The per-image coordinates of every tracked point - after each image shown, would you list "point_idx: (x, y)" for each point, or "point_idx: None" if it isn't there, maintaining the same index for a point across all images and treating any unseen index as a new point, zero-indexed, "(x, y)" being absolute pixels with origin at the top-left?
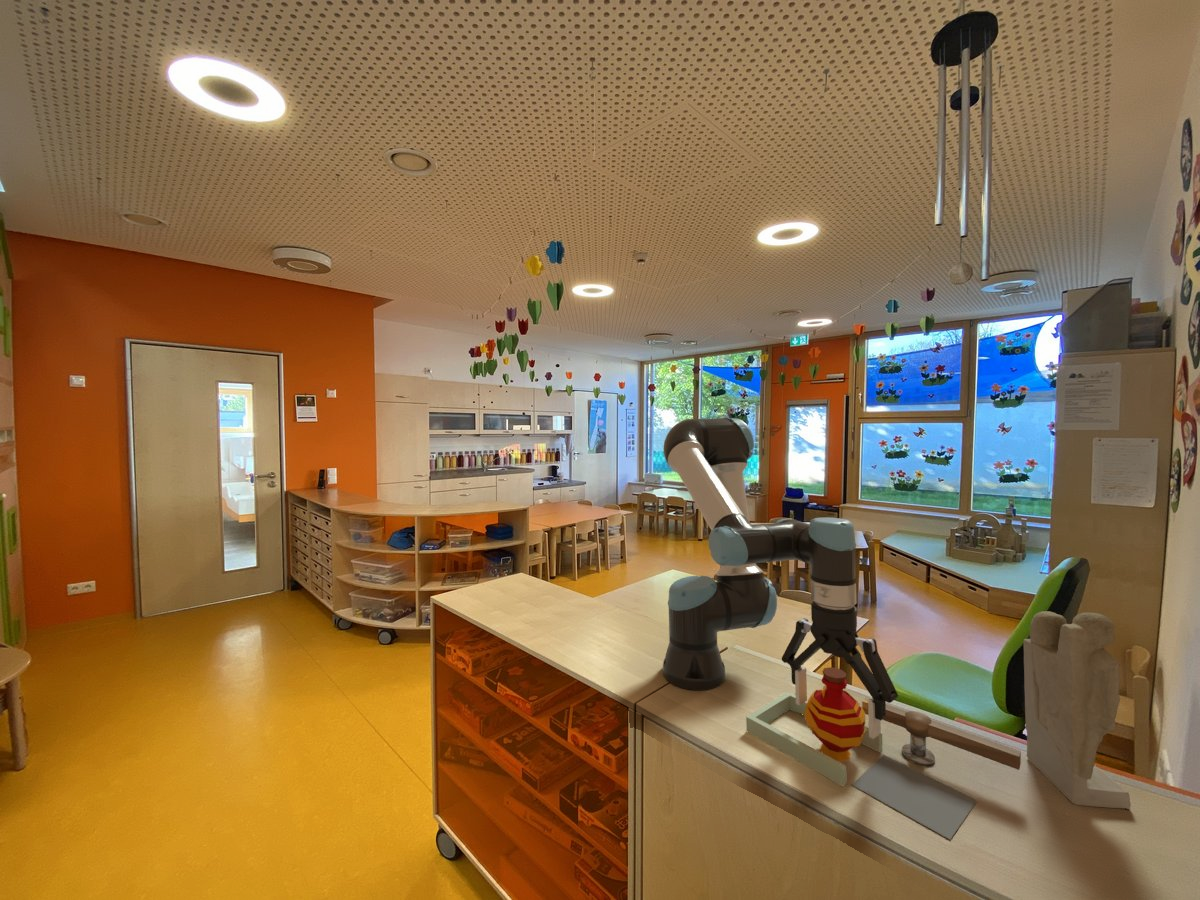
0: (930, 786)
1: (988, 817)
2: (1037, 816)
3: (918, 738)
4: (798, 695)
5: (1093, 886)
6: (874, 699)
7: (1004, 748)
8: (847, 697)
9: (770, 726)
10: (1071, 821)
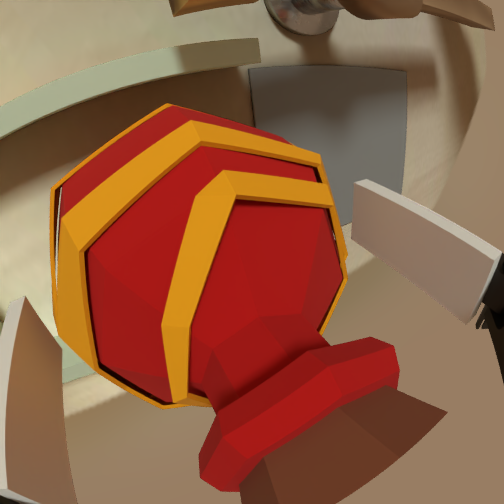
0: (361, 100)
1: (418, 101)
2: (439, 46)
3: None
4: (58, 389)
5: (465, 130)
6: (486, 314)
7: (486, 16)
8: (317, 285)
9: (65, 372)
10: (452, 29)
